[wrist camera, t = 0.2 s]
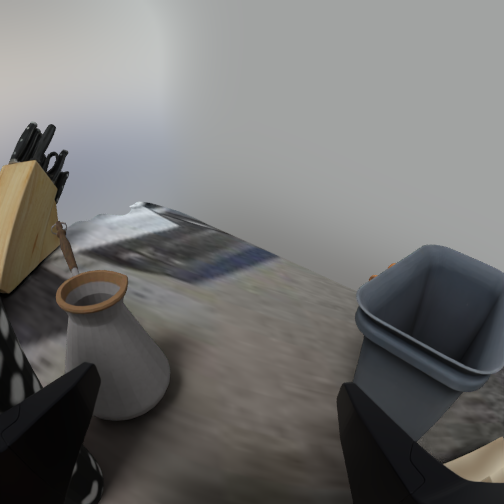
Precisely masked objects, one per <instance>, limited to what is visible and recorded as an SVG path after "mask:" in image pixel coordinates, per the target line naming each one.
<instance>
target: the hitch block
mask: <svg viewBox="0 0 504 504" xmlns="http://www.w3.org/2000/svg"><path fill="white" fill-rule="evenodd" d="M443 465H445V466H446V467H447V468H449V469H450V470H452V471H453V472H455V473H456V474H457V475H459V476H460V477H462V478H464V479H467V480H470V481H476V482H493V483H504V439H503V437H500V438H498V439H497V440H495V441H493V442H491V443H489V444H487V445H485V446H483V447H481V448H479V449H477V450H475V451H473V452H471V453H469V454H467V455H464V456H462V457H460V458H457V459H455V460H453V461H450V462H448V463H445V464H443Z"/></svg>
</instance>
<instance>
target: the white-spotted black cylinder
mask: <svg viewBox="0 0 504 504" xmlns="http://www.w3.org/2000/svg"><path fill="white" fill-rule="evenodd" d="M42 388H43V386H42V385H41V383H40V381H39V380H38V378H37V376H36V374H35V373H34V371H33V369H32V367H31V365H30V363H29V361H28V360H27V358H26V356H25V354H24V352H23V350H22V348H21V346H20V343H19V341H18V339H17V337H16V335H15V333H14V330H13V328H12V326H11V323H10V321H9V319H8V316H7V314H6V311H5V309H4V306H3V303H2V301H1V298H0V414H2V413H3V412H5V411H7V410H9V409H10V408H12V407H14V406H15V405H17V404H18V403H21V402H22V401H23V400H25V399H26V398H28V397H30V396H31V395H33V394H34V393H36V392H37V391H39V390H41V389H42ZM103 486H104V485H103V476H102V472H101V469H100V467H99V465H98V463H97V462H96V460H95V459H94V457H93V456H92V455H91V454H90V453H89V451H88V450H87V449H86V448H85V447H84V445H83V444H82V446H81V449H80V452H79V455H78V458H77V461H76V464H75V467H74V471H73V474H72V477H71V480H70V484H69V487H68V491H67V494H66V498H65V502H64V504H97V503H98V502H99V500H100V498H101V495H102V492H103Z"/></svg>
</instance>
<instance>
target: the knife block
mask: <svg viewBox="0 0 504 504" xmlns="http://www.w3.org/2000/svg"><path fill="white" fill-rule="evenodd" d="M36 127H37V123H35V122H31V123H30V124H29V125H28V126H27V128H26V129H25V131H24V132H23V134H22V135H21V137H20V139H19V141H18V143H17V145H16V147H15V150H14V152H13V154H12V156H11V159H10V161H9V164H8V165H5V166H3V167H2V169H1V172H0V293H10V292H11V291H12V290H13V289H15V288H16V287H17V286H18V285H19V284H20V283H21V282H22V280H23V279H24V278H25V277H26V276H27V275H29V274H30V273H31V272H32V271H33V270H34V269H35V268H36V267H37V266H38V264H39V263H40V262H41V261H42V260H44V259H45V258H46V257H47V256H48V255H49V254H50V253H51V252H53V251H54V250H55V249H56V248H57V247H58V246H59V245H60V238H58V237H57V235H55V234H53V233H57V232H58V231H57V229H56V225H55V226H54V227H53V228H52V226H53V225H54V224H56V222H57V221H58V217H57V209H56V204H57V203H58V200H59V198H60V195H61V193H62V191H63V188H64V185H65V182H66V180H67V178H68V176H69V172H68V171H67V172H61V169H62V167H63V164H64V160H65V157H66V156H67V154H68V151H66V150H63V151H62V152H61V153H60V154H59V156H58V154H57V153H56V152H51V153H50V154H48V156H47V158H46V156H45V154H44V153H45V151H46V149H47V148H48V145H49V144H50V142H51V139H52V137H53V135H54V132H55V129H56V127H55V126H54V125H52V124H50V125H49V126H48V127H47V129H46V130H45V132H44V133H43V134H42V133H41V131H40V130H39V129H37V128H36ZM52 156H56V161H55V164H54V166H53V167H52V168H51V169H50V170H49V171H48V172H47V168H48V164H49V161H50V158H51V157H52ZM51 228H52V232H53V233H52V232H51Z"/></svg>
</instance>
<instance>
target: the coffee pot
mask: <svg viewBox="0 0 504 504" xmlns="http://www.w3.org/2000/svg"><path fill="white" fill-rule="evenodd" d="M62 224H65V225H66V223H63V222H60V221H57V222H56V224H54V225H53V226H52V228H53V227H54V226H55V225H56V229H57V231H58V232H57V233H53V232H52V228H51V232H52V233H53V234H55V235H57V237H58V238H60V246H61V250H62V252H63V255H64V257H65V259H66V262H67V264H68V266H69V269H70V271H71V272H72V275H73V277H72V278H70V279H68V280H66V281H65V282H64V283H63V284H62V285H61V286H60V287H59V289H58V290H57V293H56V302H57V303H58V305H59V306H60V307H61V308H62V309H63V310H65V311H66V312H67V314H68V315H69V319H68V329H67V342H66V361H65V374H66V373H67V372H69V371H71V370H72V369H74V368H75V367H77V366H78V365H80V364H82V363H83V362H90V363H94V364H95V365H96V368H97V370H98V373H99V375H100V378H101V385H100V388H99V392H98V396H97V400H96V404H95V407H94V411H93V415H94V416H96V417H98V418H101V419H105V420H113V421H119V420H128V419H132V418H135V417H138V416H140V415H143V414H145V413H146V412H148V411H149V410H151V409H152V408H154V407H155V406H156V405H157V403H158V402H159V401H160V400H161V399H162V398H163V396H164V394H165V391H166V389H167V387H168V385H169V381H170V366H169V362H168V359H167V357H166V356H165V355H164V353H163V352H162V350H161V349H160V348H159V347H158V345H157V344H156V343H155V342H154V341H153V340H152V338H151V337H150V336H149V335H148V334H147V332H146V331H145V330H144V329H143V327H142V326H141V325H140V324H139V322H138V321H137V320H136V319H135V317H134V316H133V315H132V314H131V312H130V311H129V310H128V308H127V307H126V306H125V304H124V303H123V298H124V295H125V293H126V291H127V286H128V277H127V276H126V275H123V274H120V273H117V272H113V271H107V270H96V271H89V272H85V273H81V274H79V271H78V267H77V264H76V261H75V258H74V255H73V252H72V248H71V245H70V243H69V241H68V240H67V238H66V236H65V235H66V230H67V225H66V229H65V230H63V229H62V228H63V227H62Z"/></svg>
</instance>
